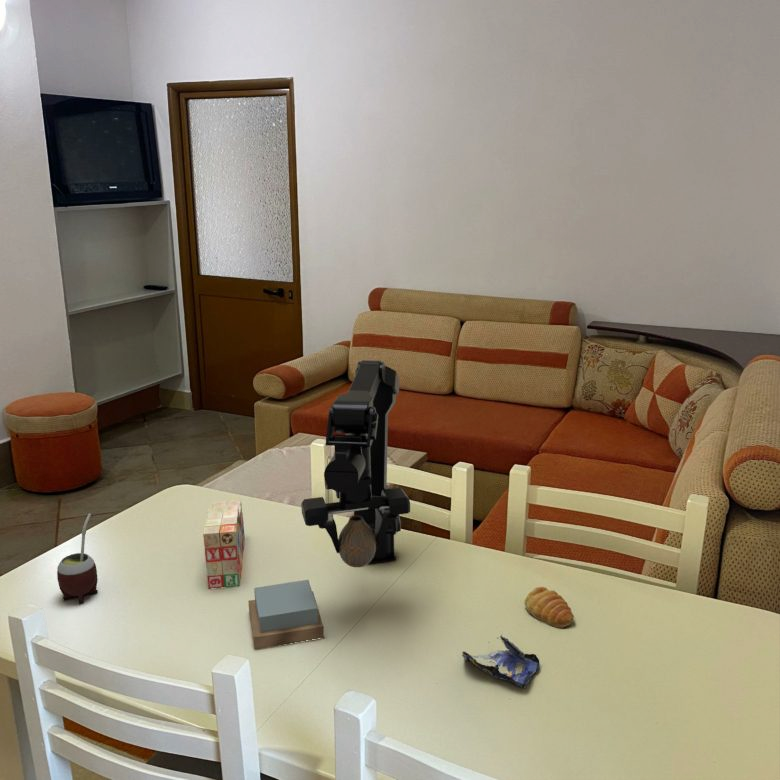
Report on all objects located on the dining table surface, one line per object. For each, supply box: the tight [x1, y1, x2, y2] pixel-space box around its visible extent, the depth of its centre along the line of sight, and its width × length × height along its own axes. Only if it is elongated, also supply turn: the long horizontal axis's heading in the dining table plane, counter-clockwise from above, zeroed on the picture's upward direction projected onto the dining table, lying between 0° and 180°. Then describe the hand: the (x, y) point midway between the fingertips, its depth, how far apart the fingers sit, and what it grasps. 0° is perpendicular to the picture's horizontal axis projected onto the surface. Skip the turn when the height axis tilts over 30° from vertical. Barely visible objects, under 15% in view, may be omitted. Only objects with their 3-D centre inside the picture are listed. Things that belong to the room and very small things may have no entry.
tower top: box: [253, 579, 319, 633], centre depth 136 cm, size 10×10×3 cm
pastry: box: [524, 586, 575, 629], centre depth 138 cm, size 9×7×4 cm
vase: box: [338, 515, 376, 568], centre depth 137 cm, size 7×7×9 cm
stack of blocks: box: [202, 499, 246, 590], centre depth 158 cm, size 21×6×12 cm, turn 8°
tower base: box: [248, 590, 325, 650], centre depth 137 cm, size 12×12×3 cm
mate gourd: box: [56, 513, 99, 606], centre depth 146 cm, size 8×8×15 cm
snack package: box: [461, 634, 540, 689], centre depth 123 cm, size 12×6×12 cm
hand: (357, 549), depth 138 cm, fingers closed on vase, 7 cm apart
